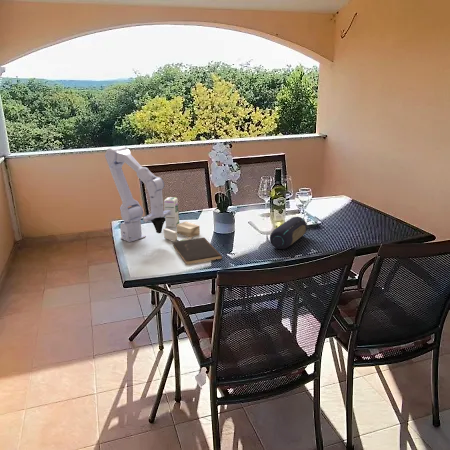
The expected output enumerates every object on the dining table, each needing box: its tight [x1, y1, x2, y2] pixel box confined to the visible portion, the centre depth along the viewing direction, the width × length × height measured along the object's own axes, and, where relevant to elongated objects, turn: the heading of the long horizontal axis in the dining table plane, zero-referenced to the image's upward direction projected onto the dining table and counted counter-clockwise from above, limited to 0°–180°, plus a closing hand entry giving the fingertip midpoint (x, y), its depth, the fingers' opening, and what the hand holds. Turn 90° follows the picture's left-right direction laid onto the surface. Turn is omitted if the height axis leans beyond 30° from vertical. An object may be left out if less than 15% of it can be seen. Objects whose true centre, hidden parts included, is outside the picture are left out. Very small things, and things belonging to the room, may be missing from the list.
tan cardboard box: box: [176, 221, 201, 241], centre depth 209 cm, size 16×12×4 cm
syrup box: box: [163, 196, 180, 228], centre depth 223 cm, size 6×6×14 cm
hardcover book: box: [171, 237, 223, 265], centre depth 191 cm, size 16×23×2 cm
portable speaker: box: [269, 216, 308, 250], centre depth 199 cm, size 25×10×10 cm, turn 147°
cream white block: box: [163, 227, 180, 242], centre depth 204 cm, size 4×10×4 cm, turn 46°
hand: (159, 232), depth 199 cm, fingers closed
